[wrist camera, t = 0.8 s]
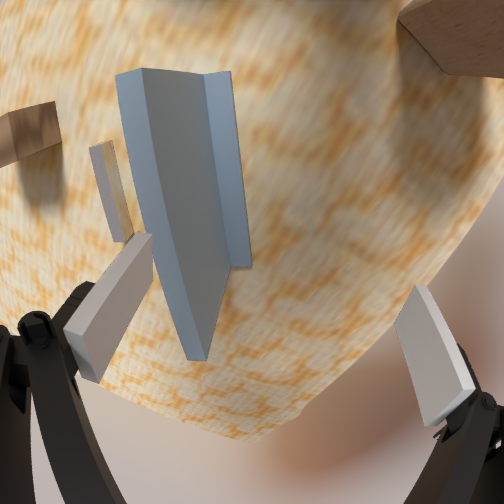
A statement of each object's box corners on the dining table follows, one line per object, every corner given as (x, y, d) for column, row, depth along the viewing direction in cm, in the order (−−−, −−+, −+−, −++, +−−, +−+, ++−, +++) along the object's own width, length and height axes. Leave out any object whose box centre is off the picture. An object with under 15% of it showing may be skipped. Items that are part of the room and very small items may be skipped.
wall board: (189, 77, 31) (114, 75, 16) (230, 71, 31) (185, 57, 15) (218, 263, 44) (187, 360, 29) (252, 262, 44) (236, 362, 28)
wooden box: (11, 121, 34) (-32, 137, 26) (55, 101, 33) (7, 112, 24) (19, 157, 38) (-23, 177, 29) (62, 141, 36) (17, 160, 28)
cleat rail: (100, 142, 36) (88, 147, 34) (112, 139, 36) (100, 144, 33) (122, 232, 43) (114, 242, 41) (133, 231, 43) (125, 241, 40)
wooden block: (445, 77, 28) (557, 92, 10) (392, 17, 25) (485, -24, 8) (482, 40, 23) (588, 41, 6) (434, -18, 20) (526, -57, 3)
